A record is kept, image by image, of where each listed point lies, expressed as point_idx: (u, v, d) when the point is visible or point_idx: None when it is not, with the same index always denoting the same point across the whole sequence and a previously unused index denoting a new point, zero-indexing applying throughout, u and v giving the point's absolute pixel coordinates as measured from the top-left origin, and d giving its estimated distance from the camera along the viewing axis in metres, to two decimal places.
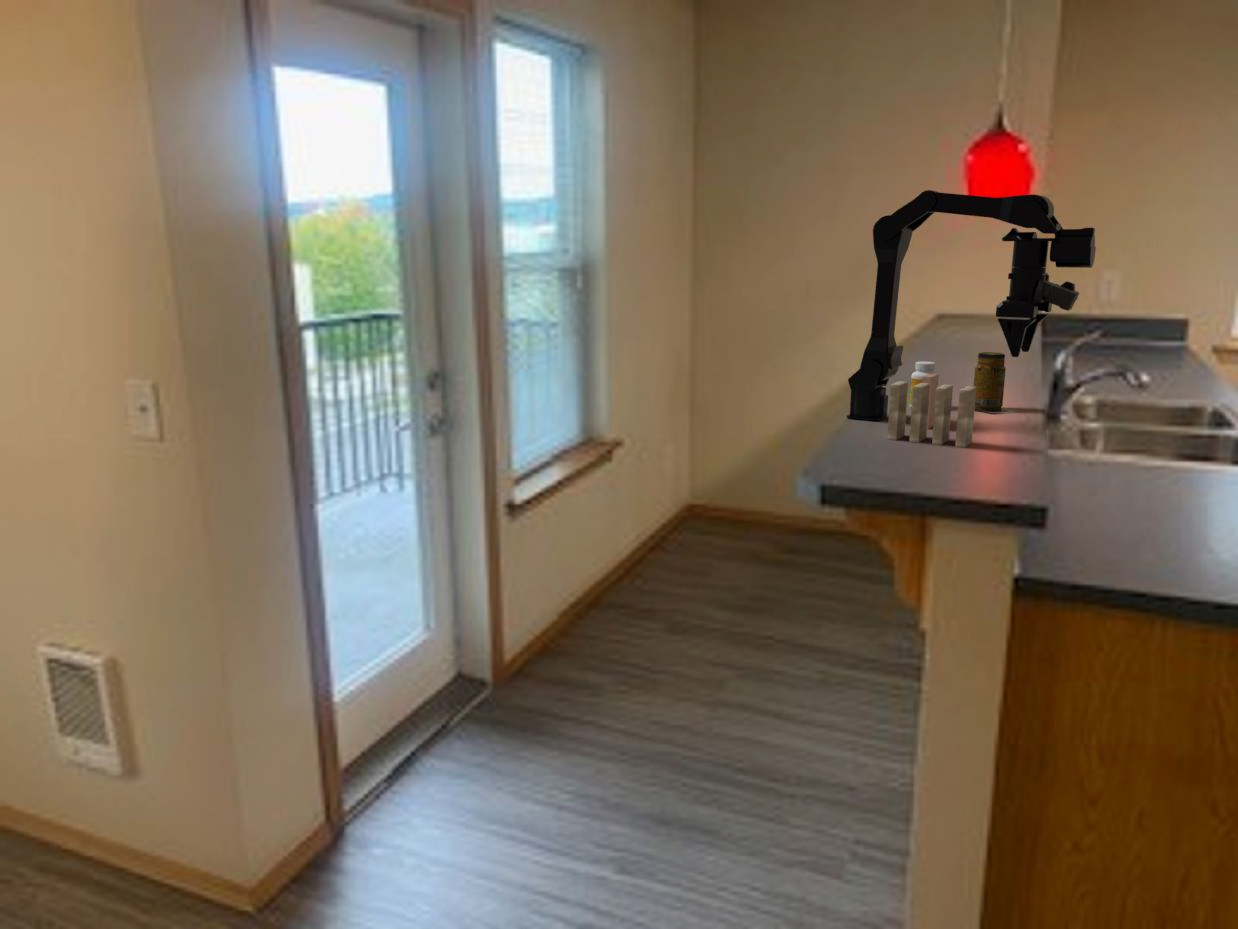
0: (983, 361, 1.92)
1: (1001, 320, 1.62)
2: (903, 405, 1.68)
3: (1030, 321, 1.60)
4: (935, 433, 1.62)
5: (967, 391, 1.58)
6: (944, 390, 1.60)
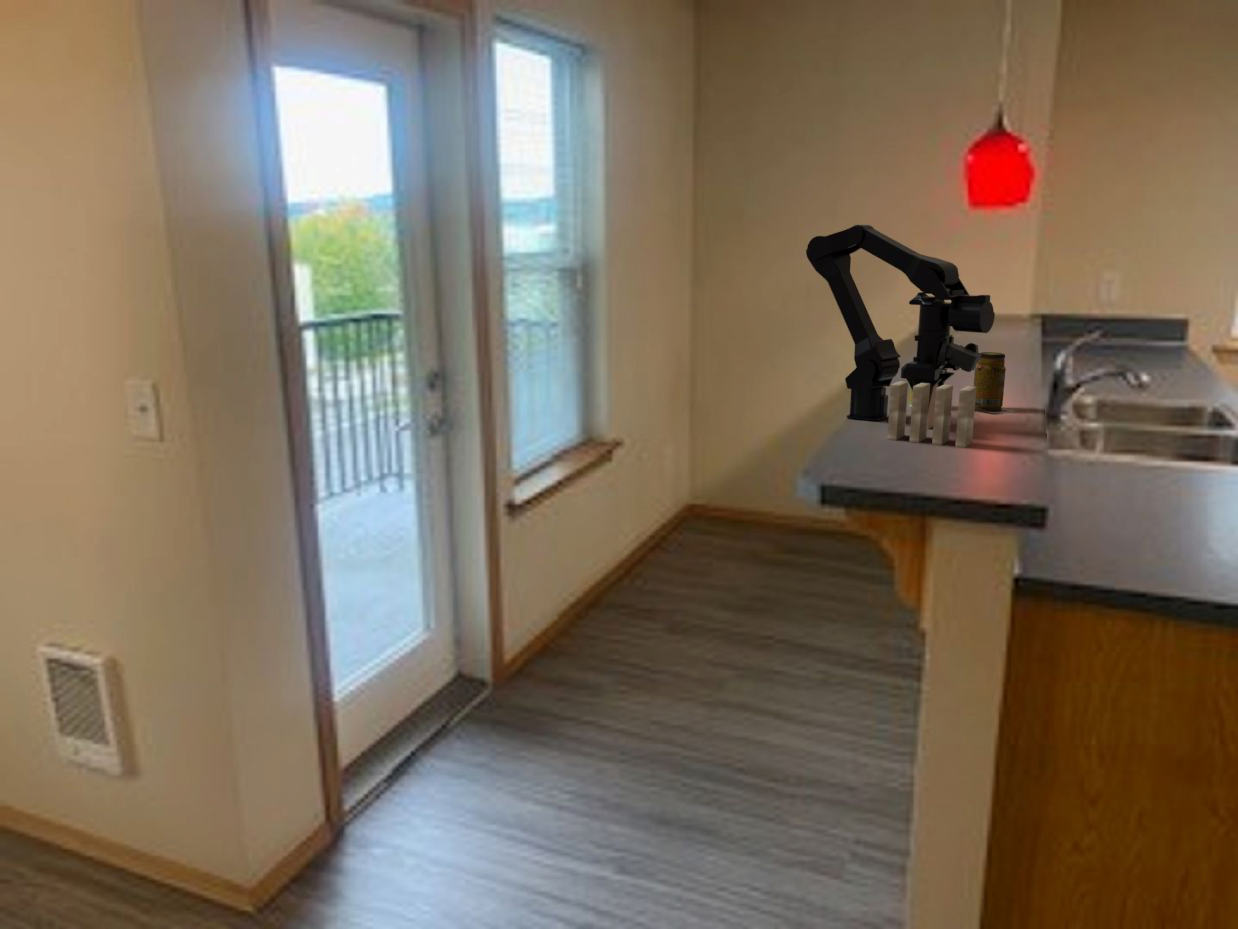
0: (983, 361, 1.92)
1: (909, 380, 1.72)
2: (903, 405, 1.68)
3: (935, 381, 1.70)
4: (935, 433, 1.62)
5: (967, 391, 1.58)
6: (944, 390, 1.60)
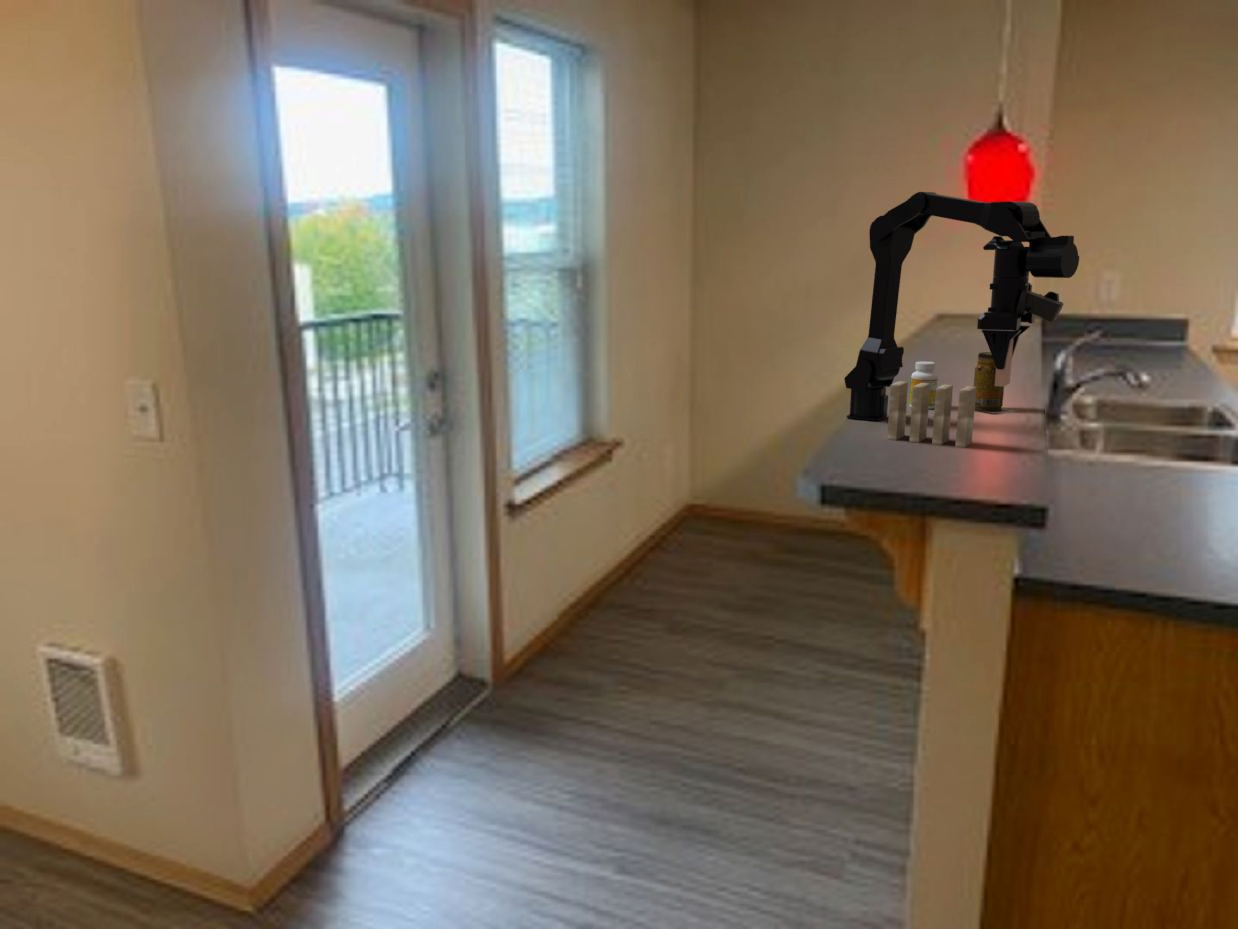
0: (983, 361, 1.92)
1: (985, 331, 1.57)
2: (903, 405, 1.68)
3: (1015, 332, 1.54)
4: (935, 433, 1.62)
5: (967, 391, 1.58)
6: (944, 390, 1.60)
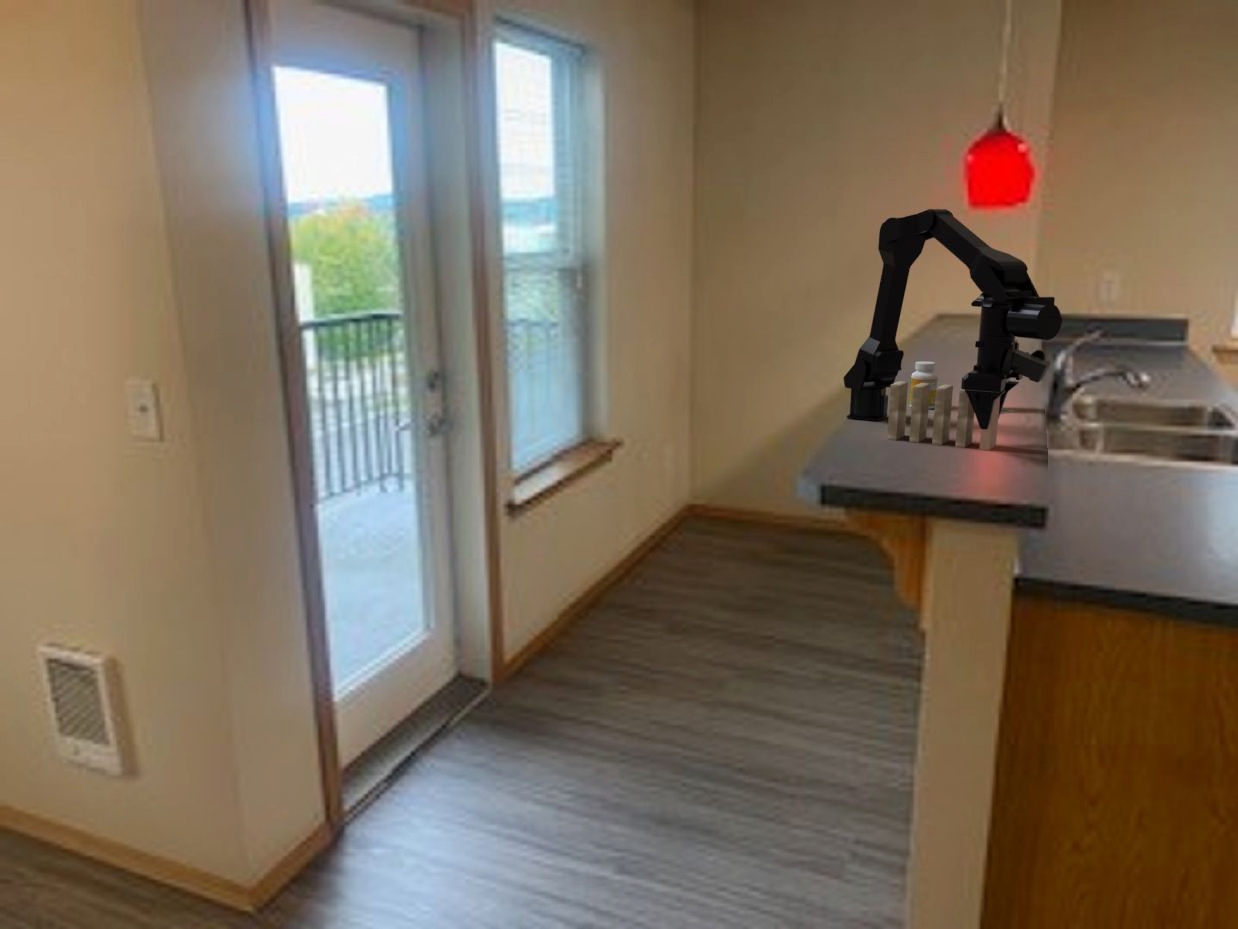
0: None
1: (968, 392, 1.53)
2: (903, 405, 1.68)
3: (999, 394, 1.51)
4: (935, 433, 1.62)
5: None
6: (944, 390, 1.60)
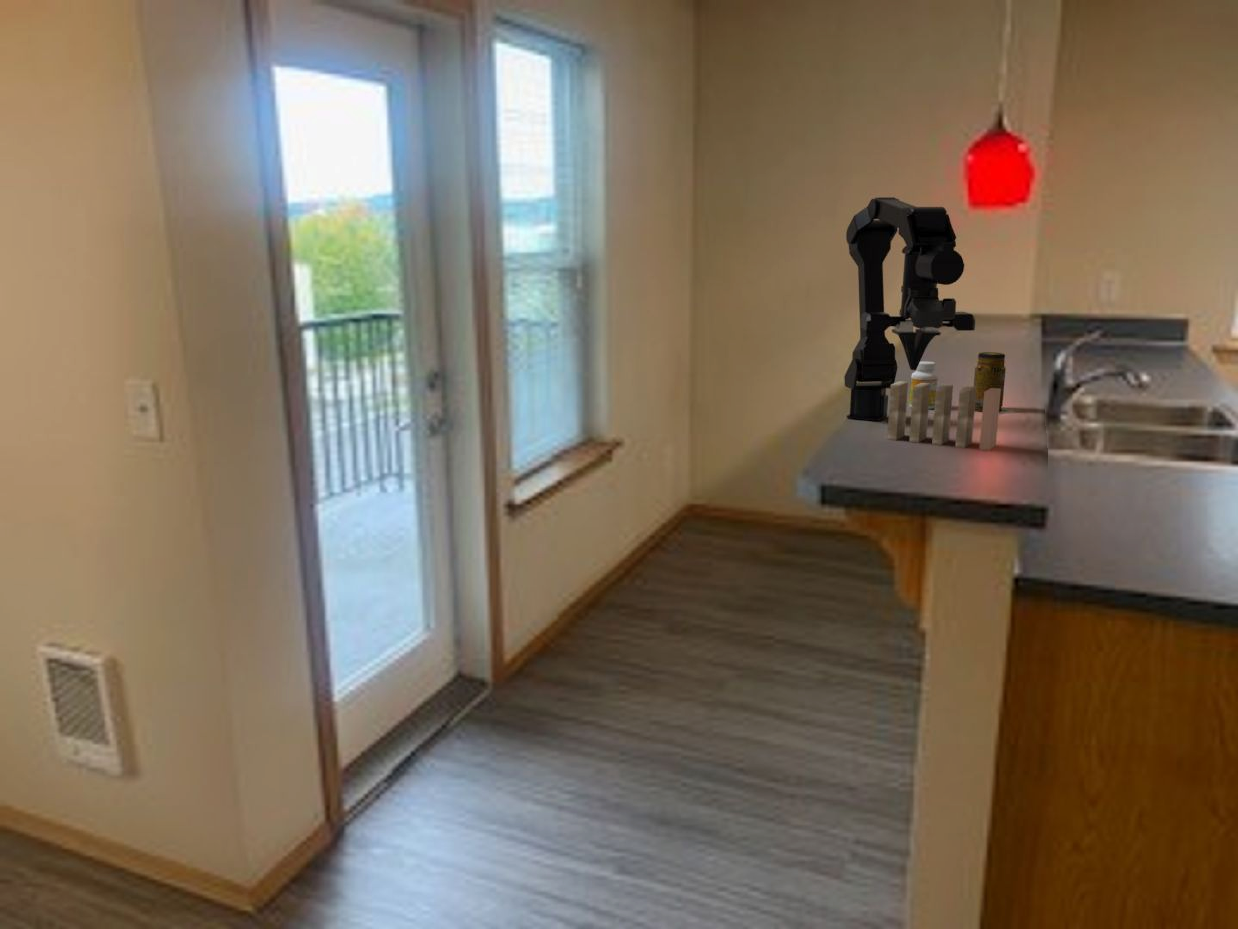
0: (983, 361, 1.92)
1: (892, 331, 1.65)
2: (903, 405, 1.68)
3: (899, 334, 1.61)
4: (935, 433, 1.62)
5: (967, 391, 1.58)
6: (944, 390, 1.60)
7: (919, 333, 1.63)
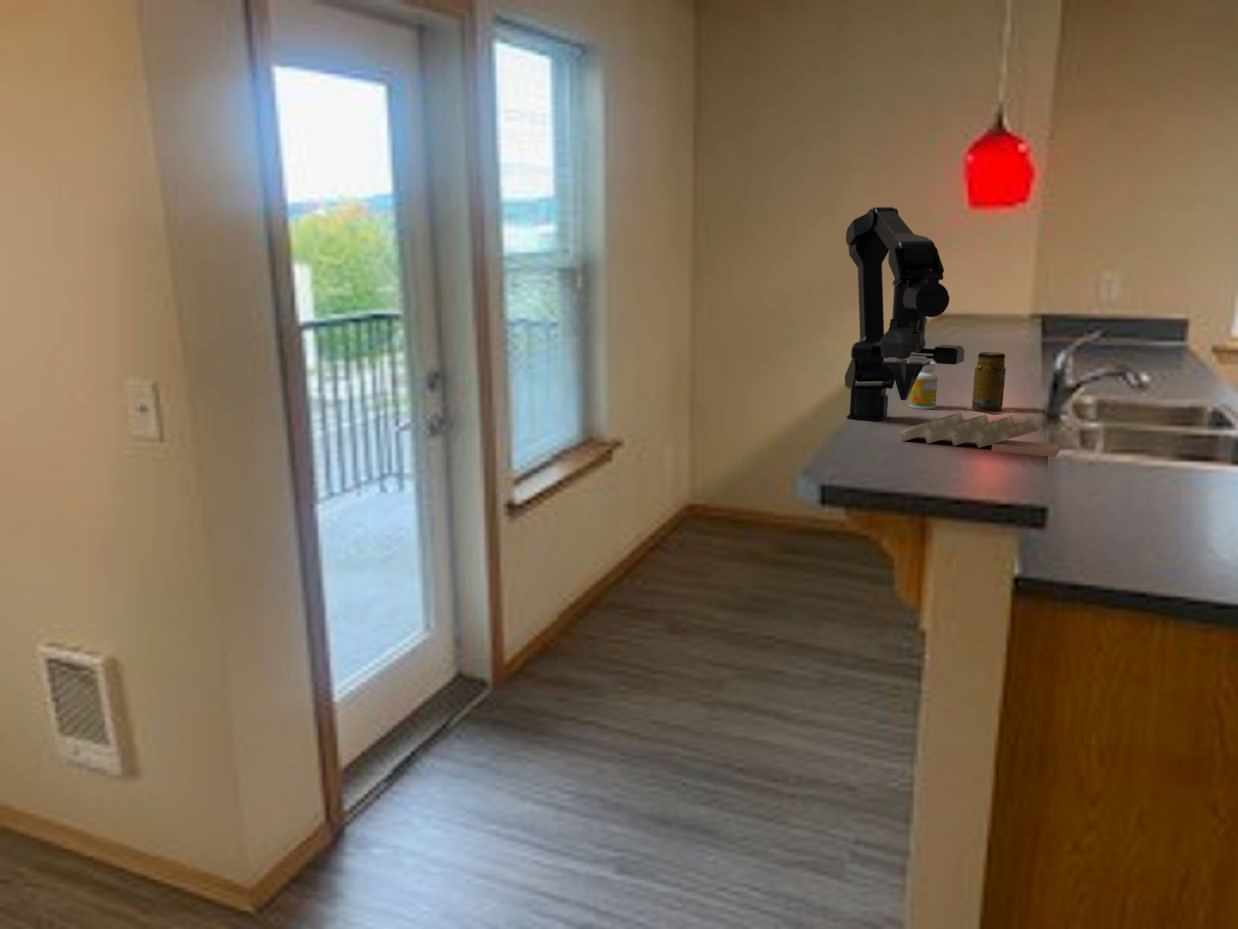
0: (983, 361, 1.92)
1: None
2: None
3: (882, 363, 1.65)
4: (962, 436, 1.60)
5: (1036, 428, 1.54)
6: (1010, 427, 1.56)
7: None
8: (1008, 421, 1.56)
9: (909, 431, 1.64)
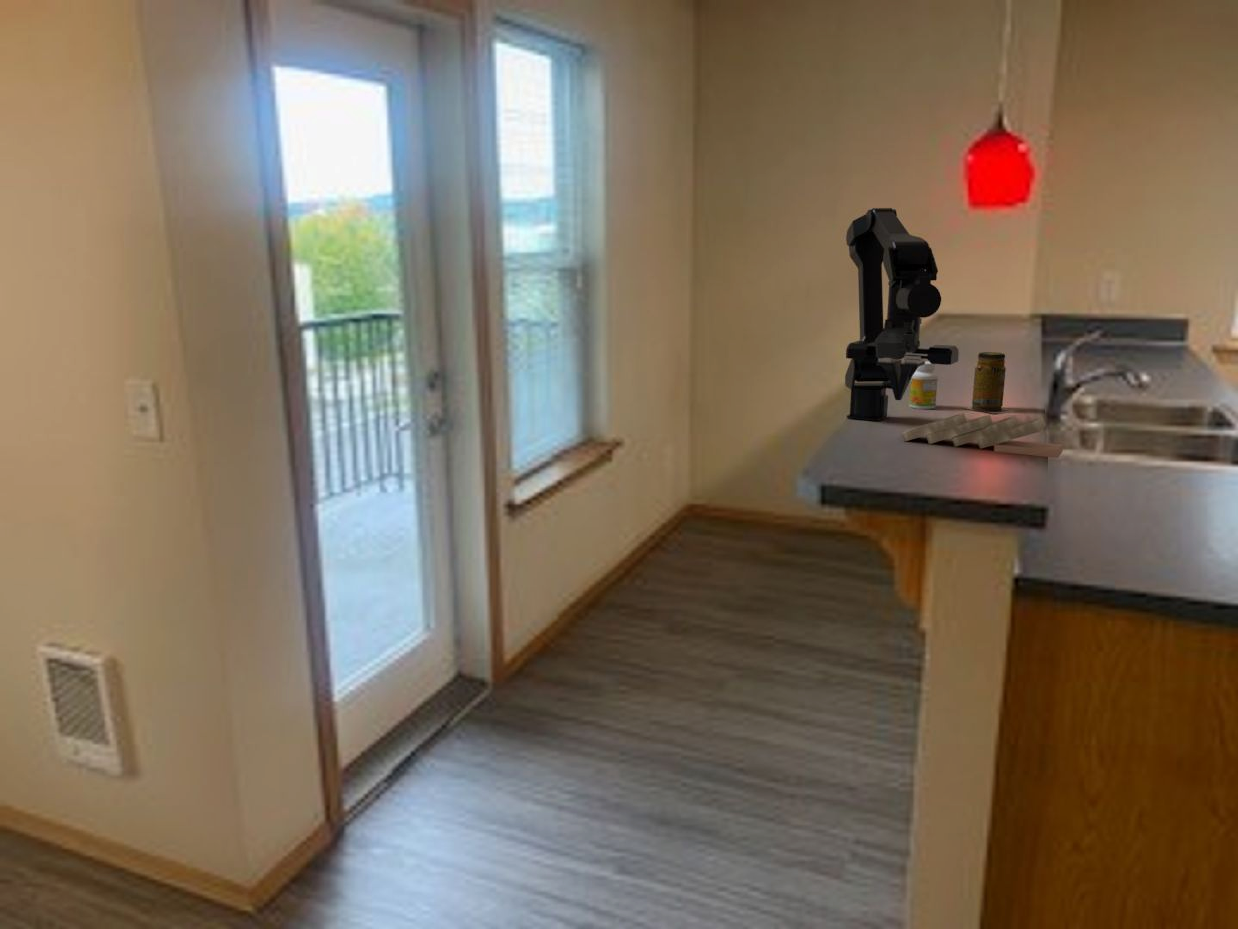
0: (983, 361, 1.92)
1: None
2: None
3: (877, 363, 1.65)
4: (963, 437, 1.59)
5: (1037, 430, 1.52)
6: (1009, 429, 1.54)
7: None
8: (1008, 422, 1.54)
9: (910, 431, 1.64)
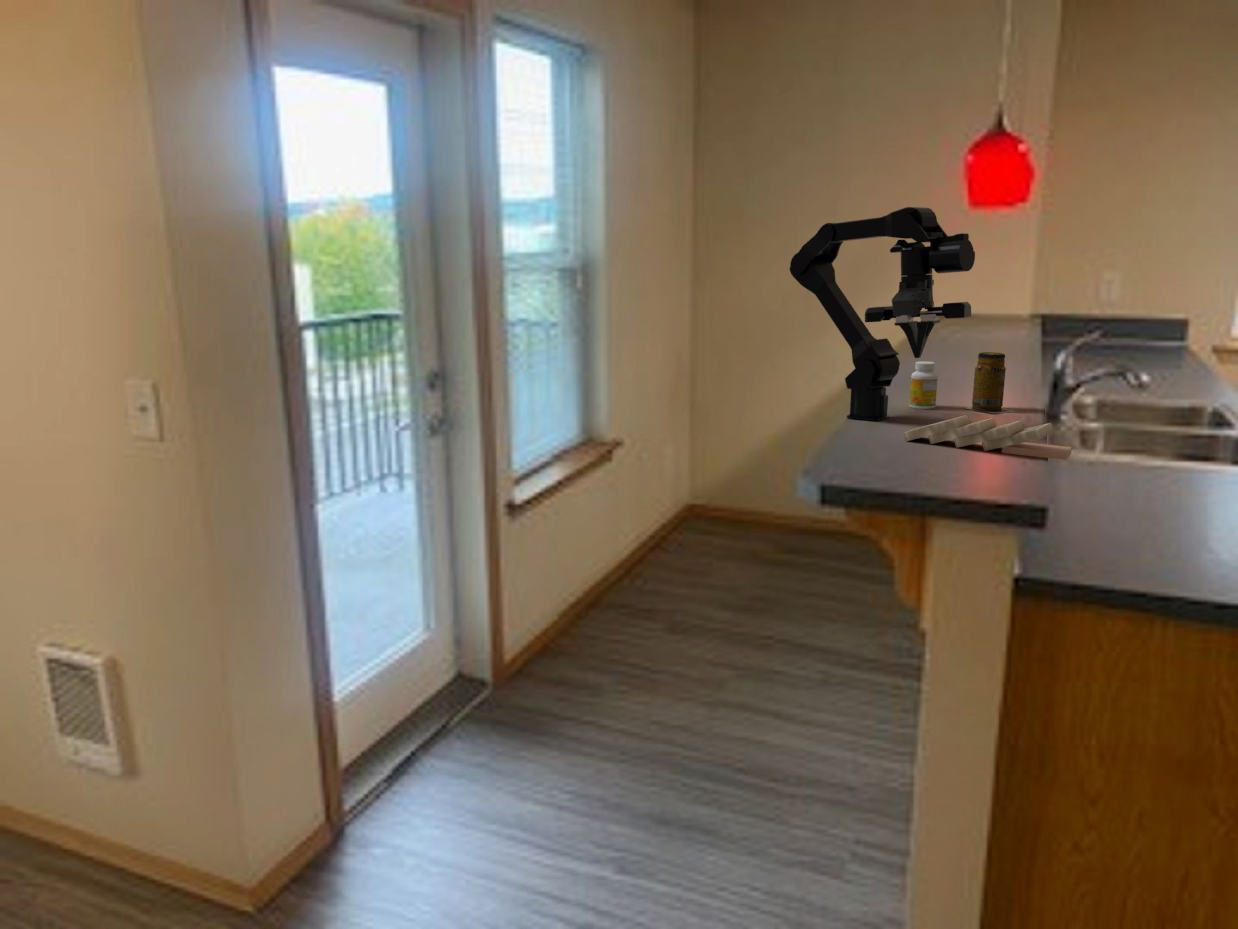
0: (983, 361, 1.92)
1: None
2: None
3: None
4: (964, 439, 1.58)
5: (1039, 437, 1.49)
6: (1008, 434, 1.52)
7: None
8: (1006, 428, 1.52)
9: (912, 431, 1.64)
